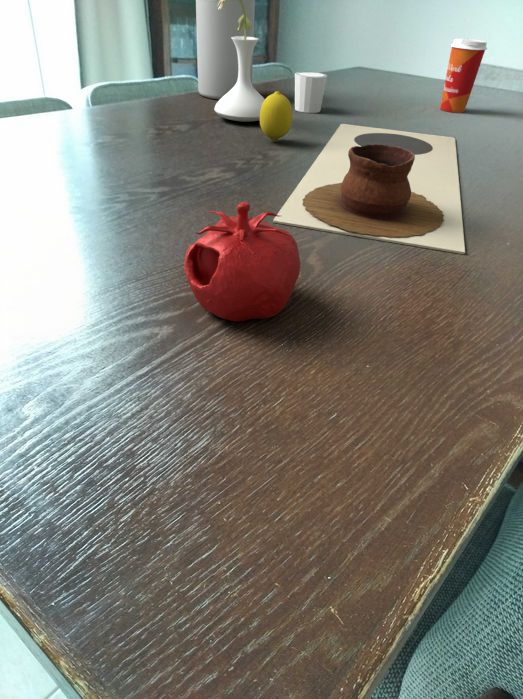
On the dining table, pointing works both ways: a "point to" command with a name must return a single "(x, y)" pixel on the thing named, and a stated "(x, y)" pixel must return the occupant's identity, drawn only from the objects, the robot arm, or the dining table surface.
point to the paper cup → (461, 73)
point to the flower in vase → (241, 80)
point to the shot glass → (309, 91)
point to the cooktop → (424, 178)
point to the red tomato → (243, 267)
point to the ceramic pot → (375, 196)
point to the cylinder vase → (220, 44)
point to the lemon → (275, 116)
